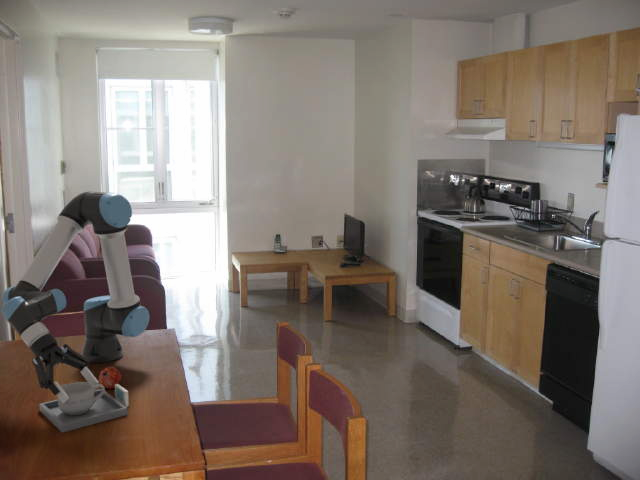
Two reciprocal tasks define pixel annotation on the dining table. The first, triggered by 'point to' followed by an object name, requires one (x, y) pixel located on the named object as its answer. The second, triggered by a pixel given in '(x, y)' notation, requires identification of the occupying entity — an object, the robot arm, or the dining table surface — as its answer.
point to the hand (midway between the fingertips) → (81, 392)
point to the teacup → (79, 397)
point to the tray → (97, 413)
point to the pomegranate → (109, 377)
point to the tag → (121, 395)
